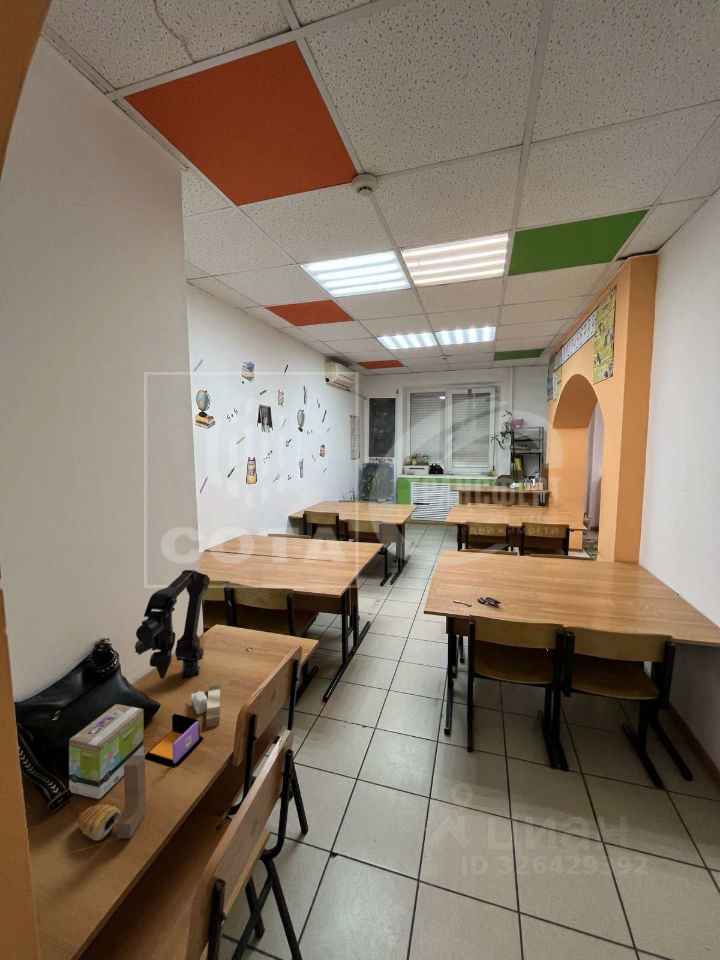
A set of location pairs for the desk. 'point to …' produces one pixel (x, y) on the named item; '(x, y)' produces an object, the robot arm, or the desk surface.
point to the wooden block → (133, 796)
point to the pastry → (98, 820)
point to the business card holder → (177, 742)
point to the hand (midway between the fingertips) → (163, 671)
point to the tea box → (105, 750)
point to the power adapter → (199, 702)
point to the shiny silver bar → (213, 705)
